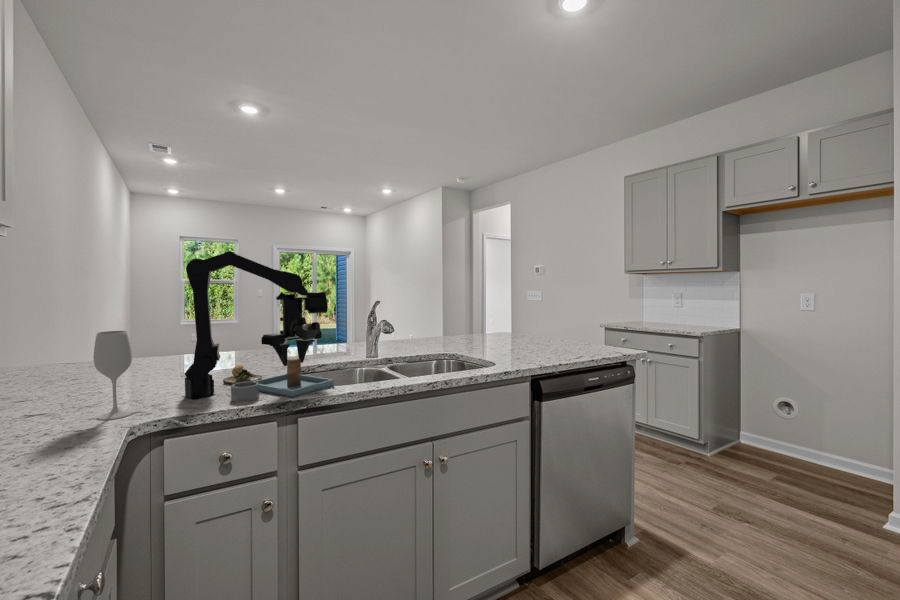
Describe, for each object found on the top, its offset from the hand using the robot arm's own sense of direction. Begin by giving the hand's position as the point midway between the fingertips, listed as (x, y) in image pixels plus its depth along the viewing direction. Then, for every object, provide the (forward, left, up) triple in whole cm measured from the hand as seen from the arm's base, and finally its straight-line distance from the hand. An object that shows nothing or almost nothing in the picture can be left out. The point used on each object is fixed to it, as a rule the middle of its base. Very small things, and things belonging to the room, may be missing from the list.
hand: (293, 364), depth 137 cm
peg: (0, 0, -7) cm, 7 cm away
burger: (-3, +21, -8) cm, 23 cm away
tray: (-1, 0, -8) cm, 8 cm away
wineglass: (-41, +17, -8) cm, 45 cm away
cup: (-16, +1, -8) cm, 18 cm away
